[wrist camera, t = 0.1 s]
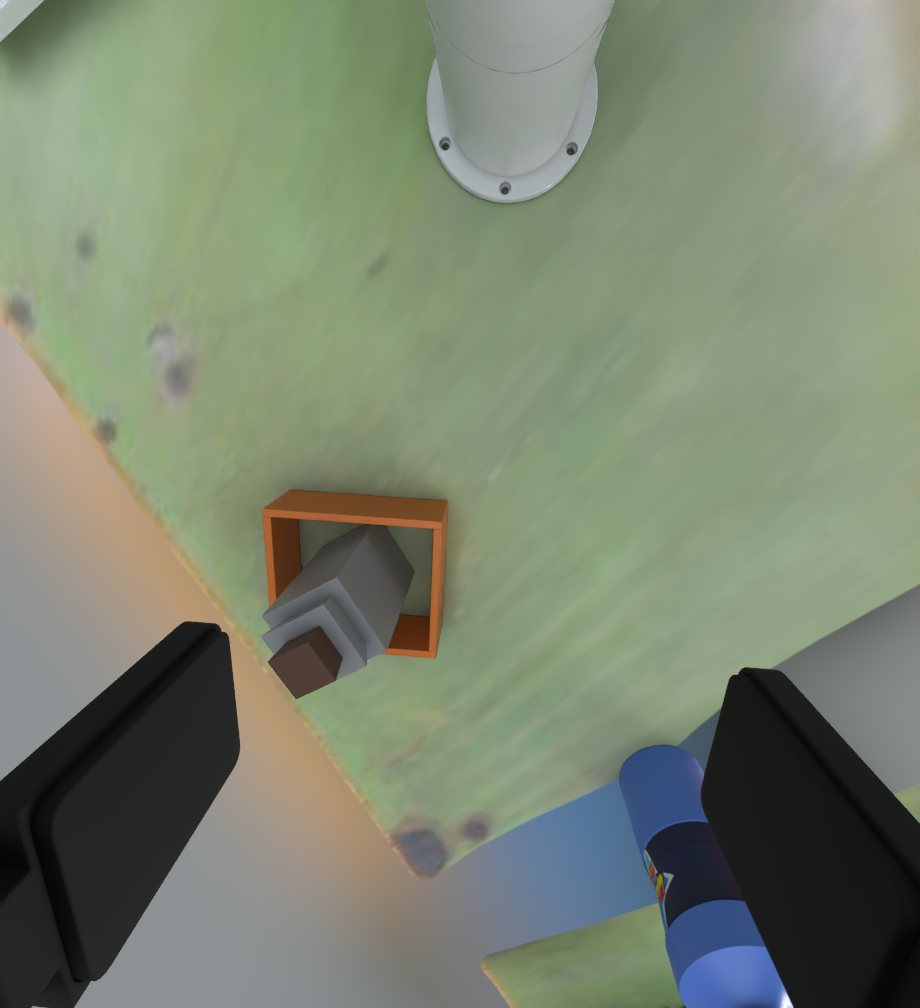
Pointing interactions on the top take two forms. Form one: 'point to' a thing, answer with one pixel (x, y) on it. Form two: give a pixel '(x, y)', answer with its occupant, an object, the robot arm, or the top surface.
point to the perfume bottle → (338, 610)
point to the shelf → (14, 14)
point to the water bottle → (696, 887)
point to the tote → (284, 512)
